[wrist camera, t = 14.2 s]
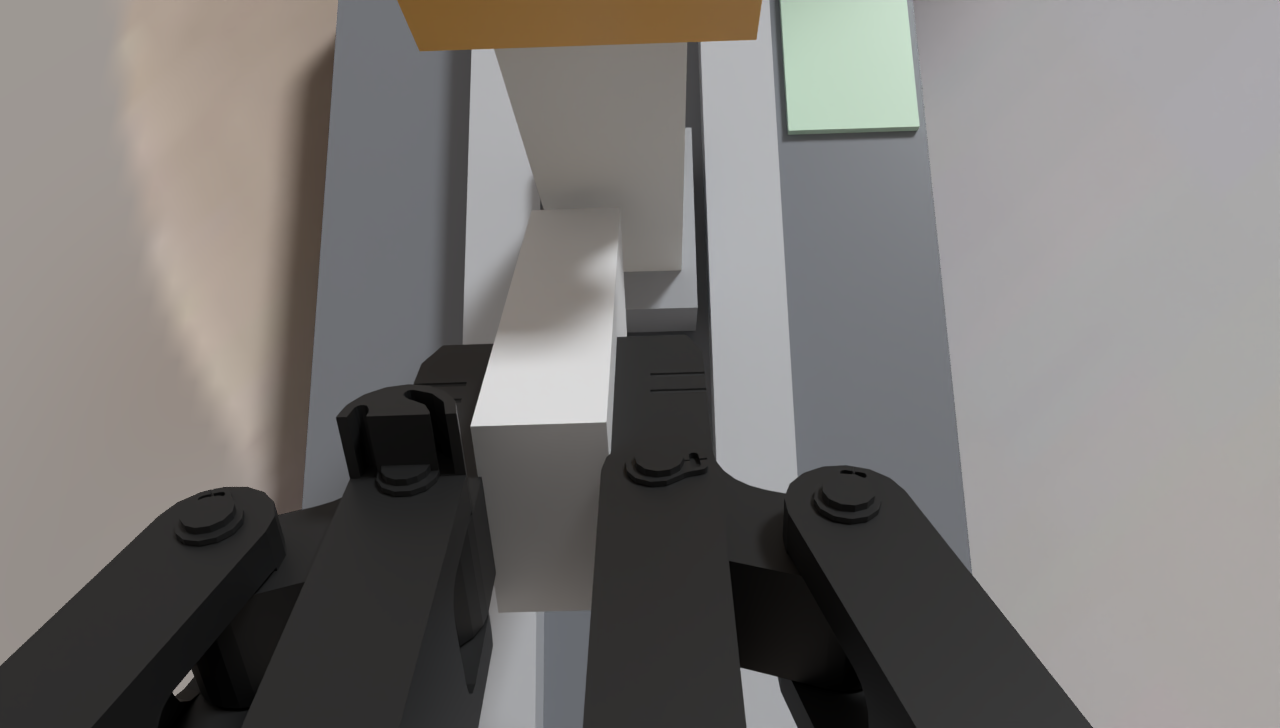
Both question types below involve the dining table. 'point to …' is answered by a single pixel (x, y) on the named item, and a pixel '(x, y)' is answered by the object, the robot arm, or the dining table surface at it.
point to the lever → (604, 117)
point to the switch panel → (725, 266)
